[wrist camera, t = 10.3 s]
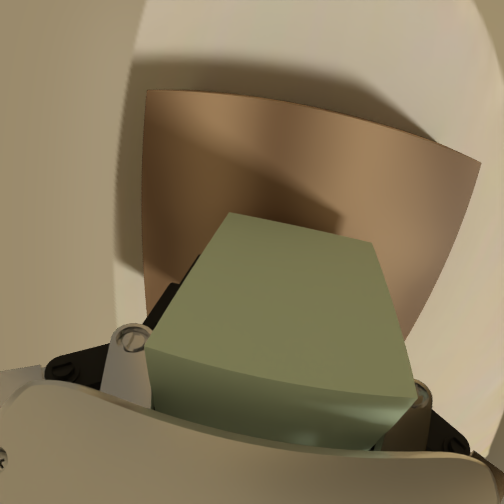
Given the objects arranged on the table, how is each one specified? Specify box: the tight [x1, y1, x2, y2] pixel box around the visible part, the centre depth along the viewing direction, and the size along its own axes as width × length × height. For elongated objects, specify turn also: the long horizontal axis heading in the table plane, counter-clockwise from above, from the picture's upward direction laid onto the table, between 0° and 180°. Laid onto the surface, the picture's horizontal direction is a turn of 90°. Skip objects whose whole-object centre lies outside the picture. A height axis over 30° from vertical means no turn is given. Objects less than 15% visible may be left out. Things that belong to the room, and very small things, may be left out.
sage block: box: [144, 212, 418, 451], centre depth 10 cm, size 6×6×7 cm
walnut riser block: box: [142, 90, 481, 341], centre depth 16 cm, size 14×14×5 cm
